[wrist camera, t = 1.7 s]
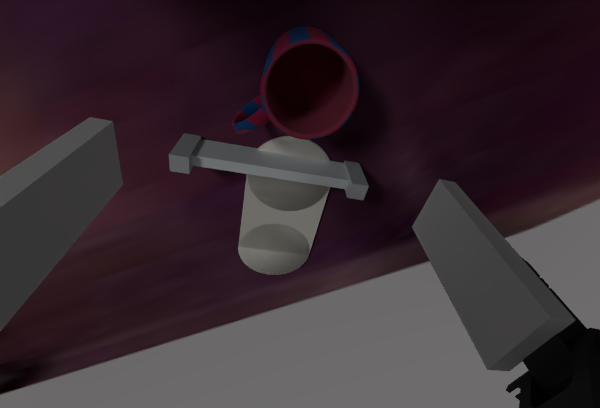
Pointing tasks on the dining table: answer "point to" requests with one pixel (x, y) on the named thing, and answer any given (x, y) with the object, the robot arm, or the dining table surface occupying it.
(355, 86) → the cup
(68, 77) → the dining table surface
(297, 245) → the pad
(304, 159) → the divider wall
